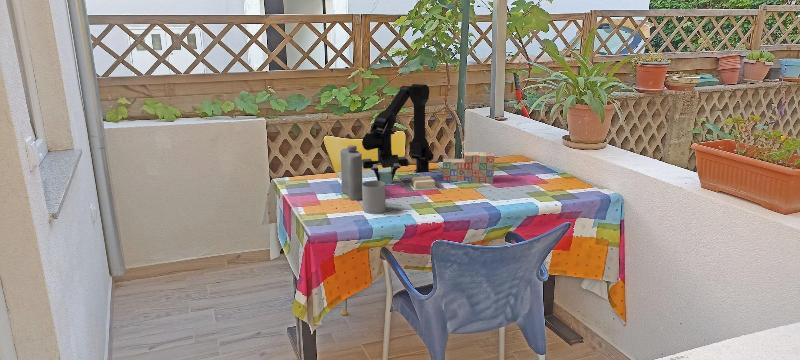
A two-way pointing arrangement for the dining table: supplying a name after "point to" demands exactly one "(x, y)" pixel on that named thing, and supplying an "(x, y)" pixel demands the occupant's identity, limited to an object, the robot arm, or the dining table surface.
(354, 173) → the flask
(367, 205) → the cup
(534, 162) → the dining table surface
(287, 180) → the dining table surface
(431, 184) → the maple slab
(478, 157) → the stack of blocks
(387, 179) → the teal cube
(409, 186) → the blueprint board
